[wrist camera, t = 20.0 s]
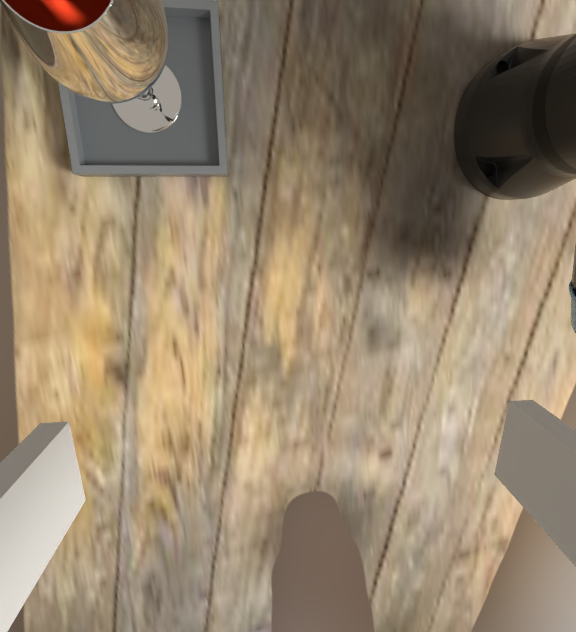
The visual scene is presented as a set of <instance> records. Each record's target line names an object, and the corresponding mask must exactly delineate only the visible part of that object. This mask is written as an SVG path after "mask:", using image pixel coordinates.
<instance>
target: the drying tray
mask: <svg viewBox="0 0 576 632" xmlns="http://www.w3.org/2000/svg"><path fill="white" fill-rule="evenodd" d="M161 1H162V3H163V6H164V10H165V13H166V17H167V22H168V29H169V49H168V56H167V60H166V64H165V65H166V66H167V67H168V68H169V69H170V70H171V71H172V73H173V74H174V75H175V77H176V79H177V81H178V83H179V86H180V89H181V95H182V105H181V110H180V113H179V115H178V117H177V119H176V121H175V122H174V123H173V124H172V125H171V126H170V127H169V128H167V129H166V130H164V131H161V132H157V133H144V132H140V131H138V130H135V129H133V128H132V127H130V126H129V125H127V124H126V123H125V122H124V121H123V120H122V119H121V118H120V117H119V115H118V114H117V113H116V111H115V109H114V107H113V105H112V104H109V103H100V102H96V101H92V100H89V99H86V98H84V97H81V96H79V95H77V94H75V93H73V92H72V91H70V90H68V89H67V88H65V87H64V86H63V85H61V84H60V83H59V82H58V85H59V91H60V98H61V104H62V110H63V116H64V122H65V128H66V135H67V141H68V147H69V153H70V159H71V165H72V171H73V174H76V175H80V176H228V168H227V150H226V132H225V115H224V97H223V79H222V61H221V43H220V25H219V10H218V1H216V0H161Z"/></svg>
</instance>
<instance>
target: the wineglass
mask: <svg viewBox="0 0 576 632" xmlns="http://www.w3.org/2000/svg"><path fill="white" fill-rule="evenodd" d="M0 2H1V4H2V6H3V7H4V9H5V11H6V13H7V15H8V16H9V18H10V20H11V22H12V23H13V25H14V27H15V29H16V30H17V32H18V34H19V35H20V37H21V38H22V40H23V42H24V43H25V45H26V46H27V48H28V49H29V51H30V52H31V53H32V55H33V56H34V57H35V59H36V60H37V61H38V62H39V64H40V65H41V66H42V67H43V68H44V69H45V70H46V71H47V72H48V73H49V74H50V75H51V76H52V77H53V78H54V79H55V80H56V81H57V82H59V83H60V84H61V85H63V86H64V87H65V88H67V89H68V90H70V91H72V92H73V93H75V94H77V95H79V96H81V97H84V98H86V99H89V100H92V101H96V102H100V103H109V104H112V105H113V107H114V109H115V111H116V113H117V114H118V115H119V117H120V118H121V119H122V120H123V121H124V122H125V123H126V124H127V125H129V126H130V127H132V128H133V129H135V130H138V131H140V132H144V133H157V132H161V131H164V130H166V129H167V128H169V127H170V126H171V125H172V124H173V123H174V122H175V121H176V119H177V117H178V115H179V113H180V110H181V105H182V95H181V89H180V86H179V83H178V81H177V79H176V77H175V75H174V74H173V73H172V71H171V70H170V69H169V68H168V67H167V66H166V65H165V64H166V60H167V56H168V49H169V29H168V22H167V17H166V13H165V10H164V6H163V3H162V1H161V0H0Z"/></svg>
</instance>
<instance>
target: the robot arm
mask: <svg viewBox="0 0 576 632" xmlns="http://www.w3.org/2000/svg"><path fill="white" fill-rule="evenodd" d="M455 147H456V153H457V157H458V161H459V163H460V166H461V168H462V170H463V172H464V174H465V175H466V177H467V178H468V180H469V181H470V182H471V183H472V184H473V185H474V186H475V187H476V188H477V189H478V190H479V191H481V192H482V193H484V194H486V195H488V196H490V197H493V198H497V199H503V200H513V199H525V198H531V197H536V196H539V195H542V194H545V193H547V192H549V191H551V190H553V189H555V188H557V187H559V186H561V185H563V184H565V183H567V182H570V181H572V180H574V179H576V34H569V35H563V36H556V37H550V38H543V39H536V40H531V41H528V42H525V43H522V44H519V45H517V46H515V47H513V48H511V49H509V50H508V51H506V52H504V53H503V54H501V55H500V56H498V57H496V58H495V59H493V60H492V61H490V62H489V63H488V64H487V65H486V66H484V67H483V68H482V69H481V70H480V71H479V73H478V74H477V75H476V76H475V77H474V79H473V80H472V81H471V83H470V85H469V86H468V88H467V90H466V92H465V94H464V96H463V98H462V100H461V103H460V106H459V109H458V113H457V117H456V123H455ZM569 292H570V295H571V324H572V327H573V329H574V331H575V333H576V246H575V255H574V265H573V274H572V280H571V282H570V284H569ZM495 476H496V477H497V478H498V479H499V480H500V481H501V482H502V484H503V485H504V486H505V487H506V488H507V489H508V490H509V491H510V493H511V494H512V495H513V496H514V497H515V498H516V499H517V501H518V502H519V503H520V504H521V505H522V506H523V507H524V509H525V510H527V512H528V513H529V514H530V515H531V516H532V517H533V519H534V520H535V521H536V522H537V523H538V524H539V525H540V527H541V528H542V529H543V530H544V531H545V532H546V533H547V535H548V536H549V537H550V538H551V539H552V540H553V541H554V543H555V544H556V545H557V546H558V547H559V548H560V549H561V550H562V552H563V553H564V554H565V555H566V556H567V557H568V558H569V560H570V561H571V562H572V563H573V564H574V565H575V566H576V430H574V429H573V428H571V427H570V426H569V425H567V424H566V423H564V422H563V421H562V420H560V419H559V418H557V417H556V416H554V415H553V414H552V413H550V412H549V411H547V410H546V409H545V408H543V407H542V406H540V405H539V404H537V403H536V402H535V401H533V400H523V401H509V405H508V410H507V415H506V420H505V425H504V430H503V435H502V440H501V445H500V450H499V455H498V460H497V465H496V470H495ZM85 500H86V499H85V495H84V490H83V485H82V481H81V476H80V471H79V467H78V462H77V457H76V453H75V448H74V443H73V439H72V434H71V429H70V425H69V422H55V423H40V424H39V425H38V426H37V427H36V428H35V429H34V430H33V431H32V432H31V433H30V434H29V435H28V436H27V437H26V438H25V439H24V440H23V441H22V442H21V443H20V444H19V445H18V446H17V447H16V448H15V449H14V450H13V451H12V452H11V453H10V454H9V455H8V456H7V457H6V458H5V459H4V460H3V461H2V462H1V463H0V632H7V631H8V630H9V628H10V626H11V625H12V623H13V621H14V619H15V618H16V616H17V615H18V613H19V611H20V609H21V608H22V606H23V604H24V603H25V601H26V599H27V598H28V596H29V594H30V593H31V591H32V589H33V588H34V586H35V584H36V583H37V581H38V579H39V578H40V576H41V574H42V573H43V571H44V569H45V567H46V566H47V564H48V562H49V561H50V559H51V557H52V556H53V554H54V552H55V551H56V549H57V547H58V546H59V544H60V542H61V541H62V539H63V537H64V535H65V534H66V532H67V530H68V529H69V527H70V525H71V524H72V522H73V520H74V519H75V517H76V515H77V514H78V512H79V510H80V509H81V507H82V505H83V504H84V502H85Z"/></svg>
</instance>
